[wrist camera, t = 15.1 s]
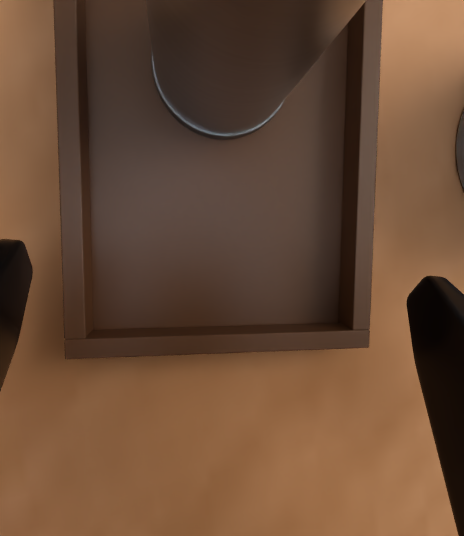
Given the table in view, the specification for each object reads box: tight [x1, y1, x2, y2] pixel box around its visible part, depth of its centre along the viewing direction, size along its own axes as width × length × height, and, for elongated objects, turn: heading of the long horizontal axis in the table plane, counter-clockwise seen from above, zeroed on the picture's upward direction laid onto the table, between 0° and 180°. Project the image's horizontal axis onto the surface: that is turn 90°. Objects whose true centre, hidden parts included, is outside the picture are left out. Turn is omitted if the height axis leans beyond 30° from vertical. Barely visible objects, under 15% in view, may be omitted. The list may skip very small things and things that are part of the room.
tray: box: [53, 0, 383, 359], centre depth 16 cm, size 17×13×2 cm
